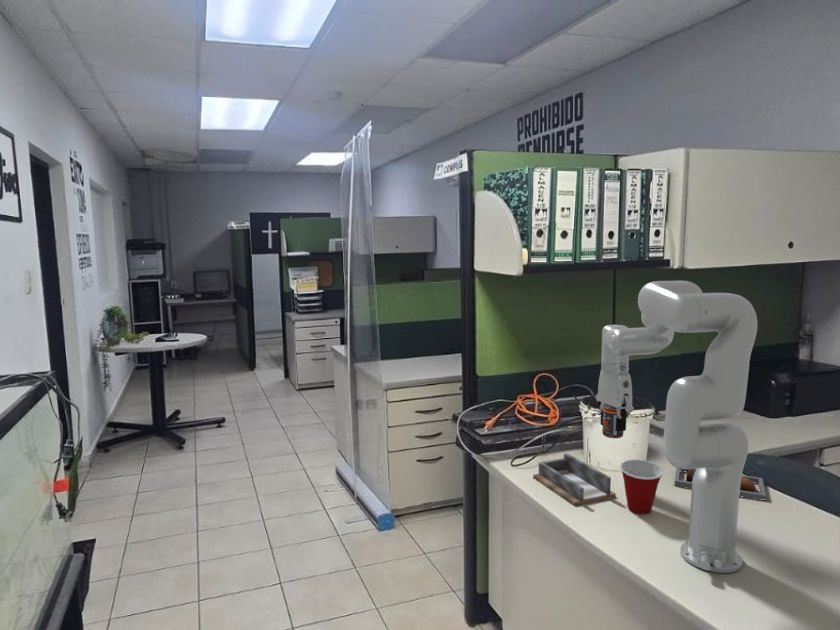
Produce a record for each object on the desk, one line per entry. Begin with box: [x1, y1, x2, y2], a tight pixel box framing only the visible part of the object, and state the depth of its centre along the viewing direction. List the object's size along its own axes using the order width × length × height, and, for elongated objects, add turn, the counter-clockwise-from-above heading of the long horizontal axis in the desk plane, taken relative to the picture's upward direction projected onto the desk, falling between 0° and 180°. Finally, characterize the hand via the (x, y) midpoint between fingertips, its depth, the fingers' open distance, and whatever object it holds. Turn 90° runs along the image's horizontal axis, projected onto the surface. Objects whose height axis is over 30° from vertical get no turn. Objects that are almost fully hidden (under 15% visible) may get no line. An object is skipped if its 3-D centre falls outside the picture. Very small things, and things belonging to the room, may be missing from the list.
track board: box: [532, 452, 617, 507], centre depth 171 cm, size 20×14×6 cm
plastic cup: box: [619, 458, 664, 515], centre depth 156 cm, size 11×11×12 cm
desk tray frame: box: [673, 467, 767, 500], centre depth 172 cm, size 13×23×2 cm, turn 64°
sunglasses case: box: [685, 470, 756, 493], centre depth 173 cm, size 18×7×7 cm
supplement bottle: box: [601, 404, 624, 439], centre depth 173 cm, size 6×6×11 cm
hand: (613, 427), depth 174 cm, fingers closed on supplement bottle, 6 cm apart
